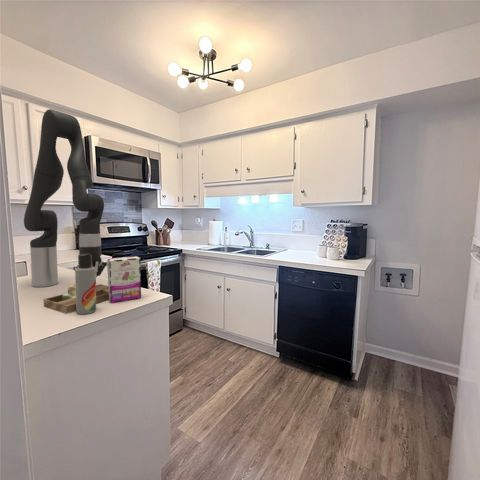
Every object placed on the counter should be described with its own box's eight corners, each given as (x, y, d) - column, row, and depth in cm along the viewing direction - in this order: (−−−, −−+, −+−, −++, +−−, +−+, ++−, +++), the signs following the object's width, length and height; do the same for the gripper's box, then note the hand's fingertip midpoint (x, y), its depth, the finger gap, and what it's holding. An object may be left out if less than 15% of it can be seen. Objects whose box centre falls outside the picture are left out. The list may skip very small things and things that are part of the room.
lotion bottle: (98, 311, 87) (97, 253, 85) (79, 316, 83) (77, 255, 81) (92, 307, 91) (91, 251, 89) (74, 311, 87) (72, 253, 84)
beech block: (67, 293, 96) (67, 286, 96) (80, 290, 101) (80, 283, 100) (76, 296, 94) (75, 288, 94) (89, 292, 99) (88, 284, 98)
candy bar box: (137, 295, 105) (137, 255, 104) (141, 298, 101) (141, 257, 100) (107, 299, 99) (107, 258, 97) (110, 303, 95) (109, 260, 93)
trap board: (43, 306, 90) (43, 299, 90) (100, 289, 110) (100, 284, 110) (66, 313, 85) (66, 306, 84) (122, 295, 104) (122, 289, 104)
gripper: (99, 242, 108) (100, 282, 110) (67, 245, 96) (68, 290, 98) (111, 244, 105) (112, 285, 107) (79, 247, 93) (80, 293, 95)
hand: (91, 287), depth 102 cm, fingers closed
